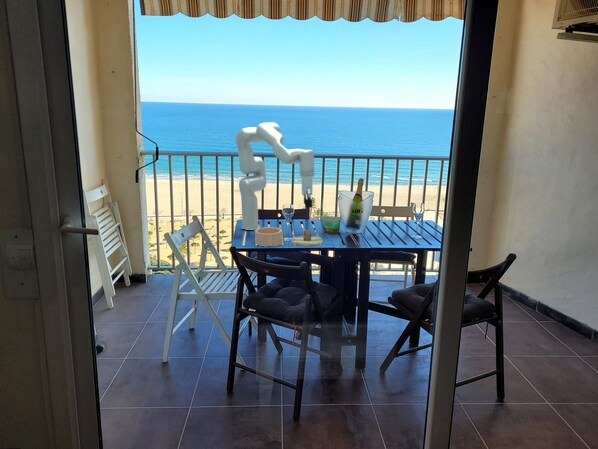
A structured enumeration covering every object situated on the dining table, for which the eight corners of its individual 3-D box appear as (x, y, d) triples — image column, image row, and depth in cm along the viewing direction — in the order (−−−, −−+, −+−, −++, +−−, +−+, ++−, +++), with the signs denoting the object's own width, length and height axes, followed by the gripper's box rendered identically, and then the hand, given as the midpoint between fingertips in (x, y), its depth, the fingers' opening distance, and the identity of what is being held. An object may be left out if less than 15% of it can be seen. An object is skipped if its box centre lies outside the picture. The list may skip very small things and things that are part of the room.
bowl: (255, 239, 243) (254, 227, 242) (280, 238, 245) (280, 226, 243) (256, 247, 230) (255, 234, 228) (283, 246, 232) (282, 233, 230)
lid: (290, 238, 247) (289, 227, 246) (319, 237, 250) (319, 226, 248) (293, 247, 231) (293, 236, 230) (325, 245, 233) (325, 234, 232)
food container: (319, 234, 254) (319, 217, 251) (320, 231, 259) (320, 214, 257) (341, 234, 252) (341, 218, 249) (341, 232, 258) (342, 215, 255)
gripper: (298, 171, 238) (299, 202, 242) (301, 175, 222) (302, 209, 226) (312, 171, 239) (312, 202, 243) (316, 175, 222) (316, 208, 226)
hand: (307, 205), depth 234 cm, fingers open, 9 cm apart
